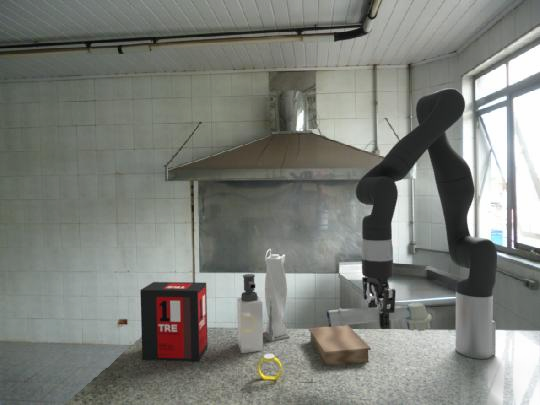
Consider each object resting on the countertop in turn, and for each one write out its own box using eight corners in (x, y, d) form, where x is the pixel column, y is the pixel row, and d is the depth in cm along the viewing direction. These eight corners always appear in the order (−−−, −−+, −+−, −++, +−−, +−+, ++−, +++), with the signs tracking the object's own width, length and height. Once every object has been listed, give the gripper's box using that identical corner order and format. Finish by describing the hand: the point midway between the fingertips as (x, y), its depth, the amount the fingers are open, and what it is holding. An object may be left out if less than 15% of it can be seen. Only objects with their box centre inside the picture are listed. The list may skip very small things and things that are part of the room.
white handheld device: (326, 307, 96) (425, 295, 92) (330, 331, 96) (429, 321, 92) (326, 314, 91) (431, 302, 86) (330, 340, 91) (435, 330, 87)
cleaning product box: (142, 359, 103) (140, 290, 102) (155, 346, 112) (153, 281, 111) (199, 361, 101) (197, 290, 101) (207, 347, 110) (206, 282, 110)
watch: (258, 382, 91) (255, 358, 90) (259, 376, 93) (257, 353, 93) (281, 381, 90) (279, 358, 90) (282, 375, 93) (280, 352, 93)
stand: (348, 337, 116) (348, 325, 116) (370, 362, 99) (370, 347, 99) (308, 340, 114) (308, 328, 114) (325, 366, 97) (324, 351, 97)
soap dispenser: (242, 356, 104) (241, 280, 103) (237, 344, 112) (236, 273, 112) (264, 353, 105) (263, 278, 105) (258, 341, 114) (257, 272, 113)
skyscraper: (258, 332, 121) (257, 249, 120) (280, 328, 125) (279, 247, 124) (270, 342, 114) (269, 253, 113) (292, 337, 117) (291, 250, 116)
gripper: (406, 261, 84) (407, 333, 85) (378, 251, 98) (379, 312, 99) (375, 263, 83) (377, 336, 84) (352, 252, 97) (353, 314, 98)
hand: (378, 323), depth 91 cm, fingers closed on white handheld device, 6 cm apart
